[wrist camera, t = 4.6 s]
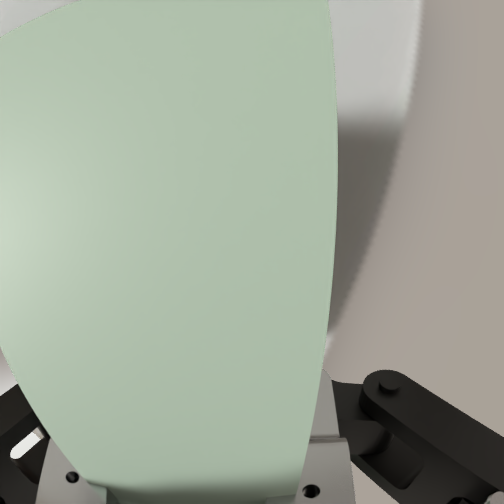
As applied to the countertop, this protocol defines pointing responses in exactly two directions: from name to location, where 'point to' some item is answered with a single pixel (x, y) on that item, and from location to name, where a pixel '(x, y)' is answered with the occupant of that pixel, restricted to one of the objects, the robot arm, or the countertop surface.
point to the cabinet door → (170, 239)
